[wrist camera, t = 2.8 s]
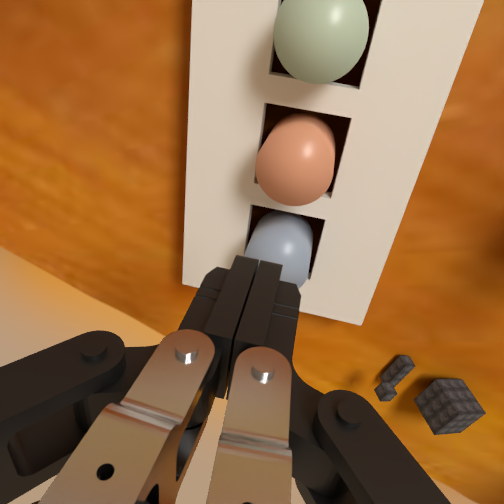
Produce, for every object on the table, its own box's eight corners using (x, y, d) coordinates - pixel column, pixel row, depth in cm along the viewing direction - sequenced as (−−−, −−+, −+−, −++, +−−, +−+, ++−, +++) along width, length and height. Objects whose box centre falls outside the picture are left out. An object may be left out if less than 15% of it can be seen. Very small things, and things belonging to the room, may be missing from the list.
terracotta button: (343, 119, 23) (342, 139, 20) (326, 185, 26) (323, 212, 22) (273, 106, 24) (260, 124, 20) (263, 173, 26) (250, 198, 23)
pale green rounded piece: (375, -13, 20) (381, -16, 16) (353, 77, 22) (354, 90, 19) (292, -25, 20) (281, -31, 17) (279, 65, 22) (267, 76, 19)
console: (497, -82, 19) (519, -94, 17) (360, 300, 32) (361, 325, 30) (215, -117, 20) (196, -133, 18) (194, 263, 34) (182, 283, 31)
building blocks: (460, 432, 34) (389, 439, 31) (424, 376, 38) (358, 376, 35) (485, 413, 32) (413, 417, 29) (445, 356, 36) (378, 354, 33)
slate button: (319, 216, 27) (315, 247, 24) (306, 267, 29) (301, 300, 26) (258, 204, 27) (246, 232, 24) (251, 254, 30) (238, 286, 26)
